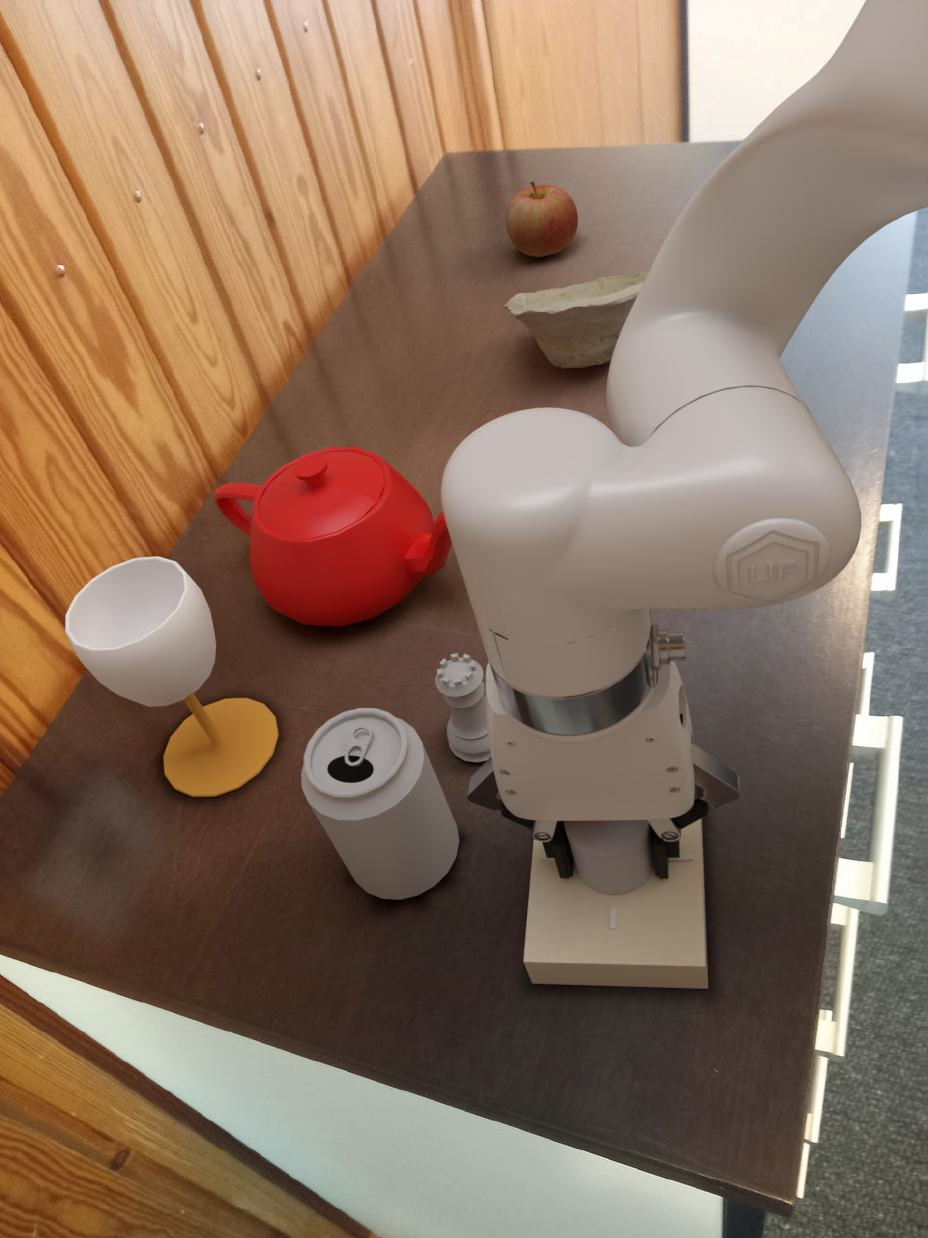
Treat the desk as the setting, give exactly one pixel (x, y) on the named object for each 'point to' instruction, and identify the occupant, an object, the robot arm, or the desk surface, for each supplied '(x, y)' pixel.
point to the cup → (169, 670)
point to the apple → (541, 220)
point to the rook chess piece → (465, 707)
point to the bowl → (578, 318)
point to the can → (380, 802)
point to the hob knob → (611, 853)
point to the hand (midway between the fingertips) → (614, 854)
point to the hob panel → (619, 926)
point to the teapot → (336, 536)
